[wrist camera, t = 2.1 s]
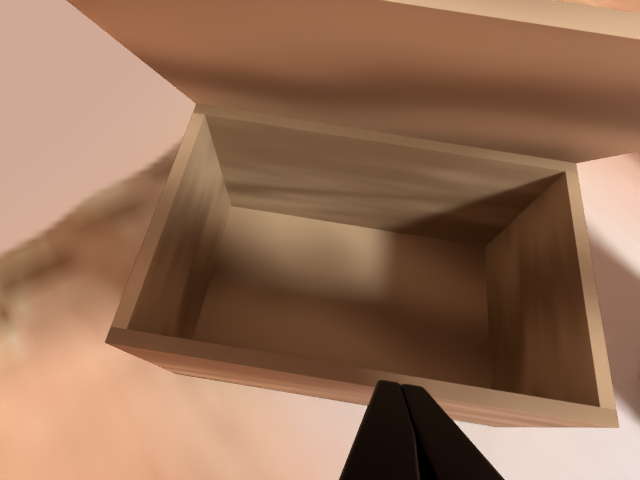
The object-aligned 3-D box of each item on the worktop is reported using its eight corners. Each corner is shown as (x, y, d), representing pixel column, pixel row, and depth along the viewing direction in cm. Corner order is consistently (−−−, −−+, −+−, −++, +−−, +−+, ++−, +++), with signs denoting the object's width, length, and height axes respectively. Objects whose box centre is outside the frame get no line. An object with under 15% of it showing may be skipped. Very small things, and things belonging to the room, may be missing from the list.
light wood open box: (497, 427, 19) (619, 427, 12) (175, 373, 19) (105, 342, 12) (489, 243, 24) (575, 163, 16) (226, 201, 24) (196, 104, 17)
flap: (963, 88, 6) (972, 63, 6) (-9, -60, 7) (-6, -85, 6) (576, 163, 16) (577, 153, 16) (196, 104, 17) (197, 94, 16)
